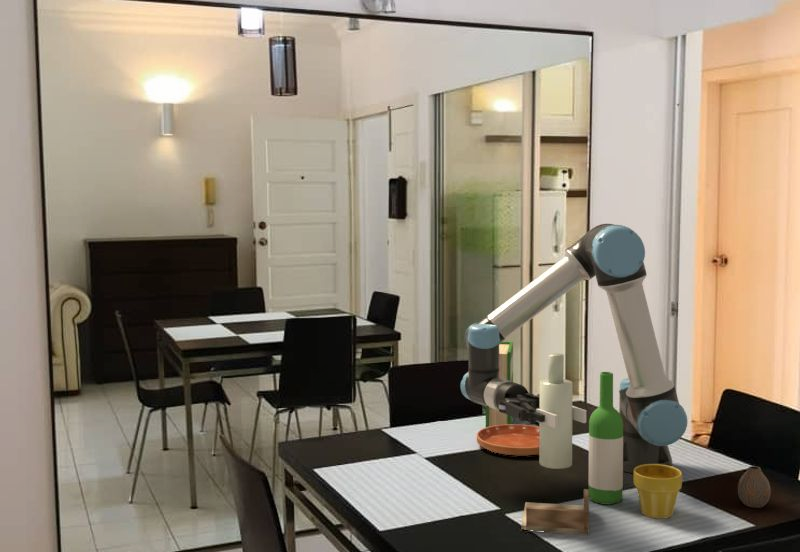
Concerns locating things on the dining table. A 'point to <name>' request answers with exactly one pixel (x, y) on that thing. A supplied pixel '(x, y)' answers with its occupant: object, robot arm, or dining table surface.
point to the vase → (754, 488)
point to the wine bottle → (606, 447)
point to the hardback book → (505, 373)
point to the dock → (557, 517)
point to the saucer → (510, 439)
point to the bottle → (558, 401)
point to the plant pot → (657, 489)
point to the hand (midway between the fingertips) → (570, 419)
